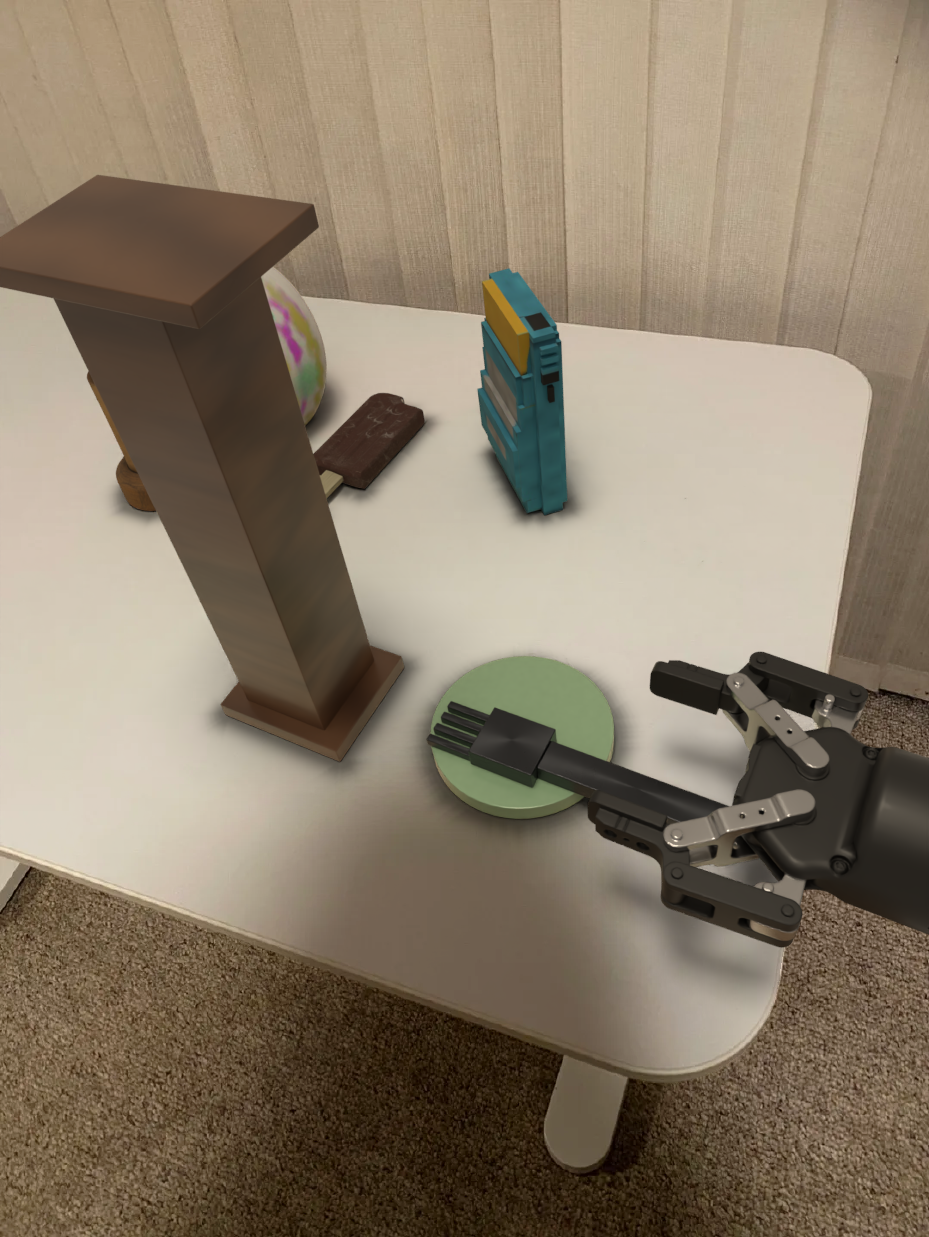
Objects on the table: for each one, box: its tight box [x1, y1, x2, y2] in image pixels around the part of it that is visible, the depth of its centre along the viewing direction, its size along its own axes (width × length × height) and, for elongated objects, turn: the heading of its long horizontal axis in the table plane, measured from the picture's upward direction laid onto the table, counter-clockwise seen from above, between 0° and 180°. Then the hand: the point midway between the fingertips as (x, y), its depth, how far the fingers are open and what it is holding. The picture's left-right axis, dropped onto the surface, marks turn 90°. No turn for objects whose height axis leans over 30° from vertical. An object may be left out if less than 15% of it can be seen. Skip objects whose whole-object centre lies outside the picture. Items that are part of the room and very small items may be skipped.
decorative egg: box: [261, 266, 328, 426], centre depth 76 cm, size 12×12×15 cm
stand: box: [0, 174, 405, 762], centre depth 49 cm, size 8×12×31 cm, turn 62°
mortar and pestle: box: [86, 370, 157, 512], centre depth 70 cm, size 7×6×18 cm
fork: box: [426, 701, 730, 824], centre depth 52 cm, size 3×18×1 cm, turn 62°
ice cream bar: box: [313, 392, 426, 499], centre depth 75 cm, size 5×2×15 cm
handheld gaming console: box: [476, 267, 568, 516], centre depth 66 cm, size 10×4×15 cm, turn 17°
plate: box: [429, 655, 615, 820], centre depth 56 cm, size 11×11×1 cm
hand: (622, 737), depth 47 cm, fingers open, 8 cm apart
